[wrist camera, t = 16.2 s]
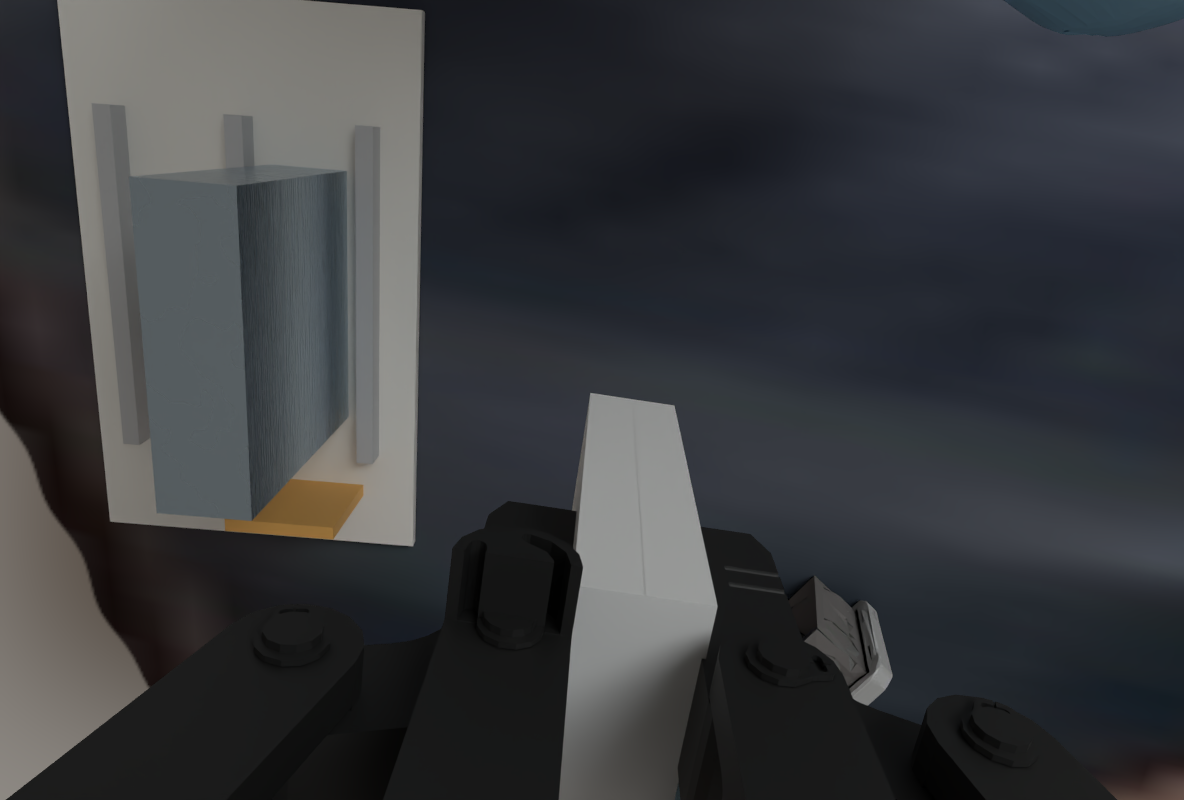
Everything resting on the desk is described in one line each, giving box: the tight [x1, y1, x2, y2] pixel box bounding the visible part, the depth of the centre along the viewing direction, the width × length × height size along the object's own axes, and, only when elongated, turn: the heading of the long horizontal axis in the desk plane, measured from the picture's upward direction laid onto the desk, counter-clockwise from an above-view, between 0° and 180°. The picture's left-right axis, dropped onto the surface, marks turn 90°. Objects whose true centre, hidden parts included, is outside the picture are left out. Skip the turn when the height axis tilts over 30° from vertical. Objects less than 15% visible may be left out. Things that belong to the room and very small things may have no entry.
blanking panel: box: [129, 165, 349, 521], centre depth 35 cm, size 12×4×12 cm, turn 175°
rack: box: [57, 0, 425, 546], centre depth 38 cm, size 26×16×6 cm, turn 175°
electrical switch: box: [789, 575, 893, 705], centre depth 42 cm, size 9×5×9 cm, turn 140°
